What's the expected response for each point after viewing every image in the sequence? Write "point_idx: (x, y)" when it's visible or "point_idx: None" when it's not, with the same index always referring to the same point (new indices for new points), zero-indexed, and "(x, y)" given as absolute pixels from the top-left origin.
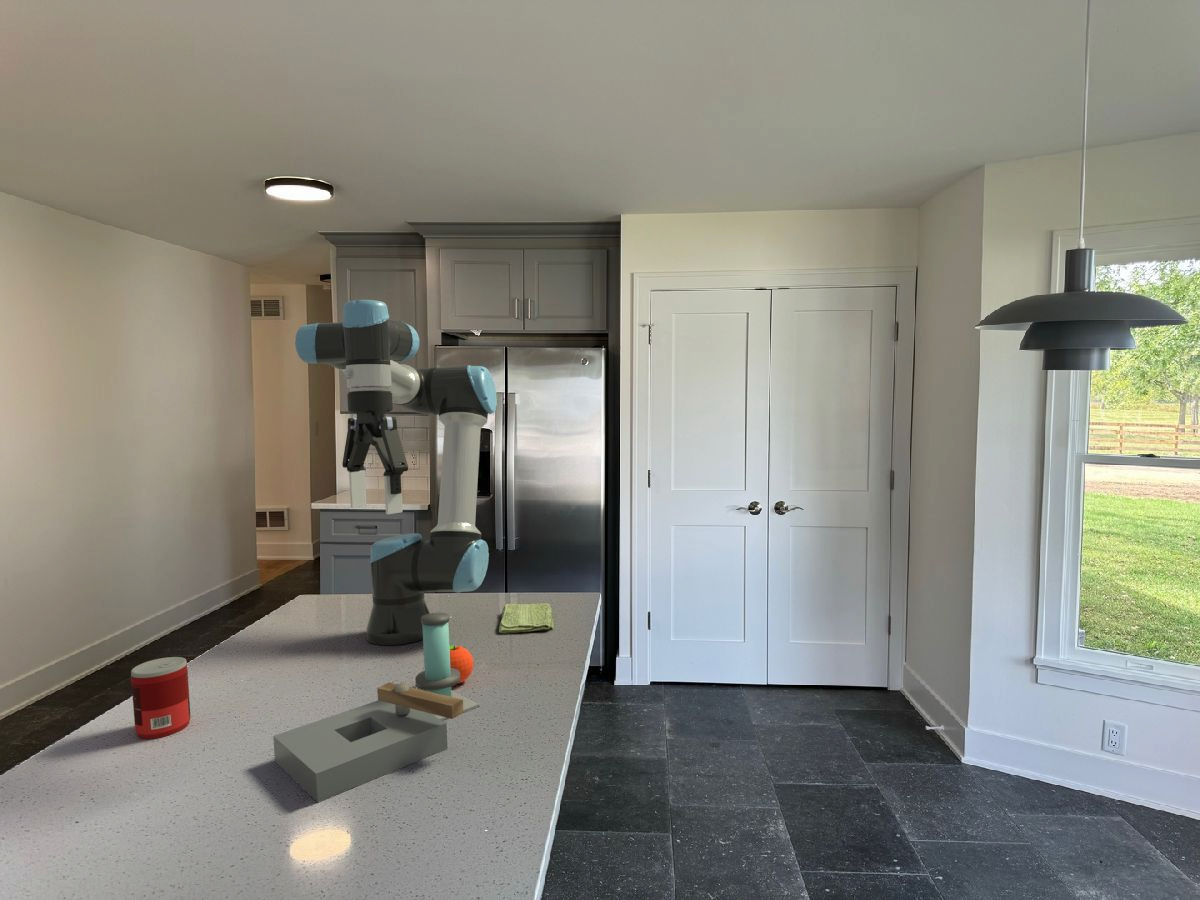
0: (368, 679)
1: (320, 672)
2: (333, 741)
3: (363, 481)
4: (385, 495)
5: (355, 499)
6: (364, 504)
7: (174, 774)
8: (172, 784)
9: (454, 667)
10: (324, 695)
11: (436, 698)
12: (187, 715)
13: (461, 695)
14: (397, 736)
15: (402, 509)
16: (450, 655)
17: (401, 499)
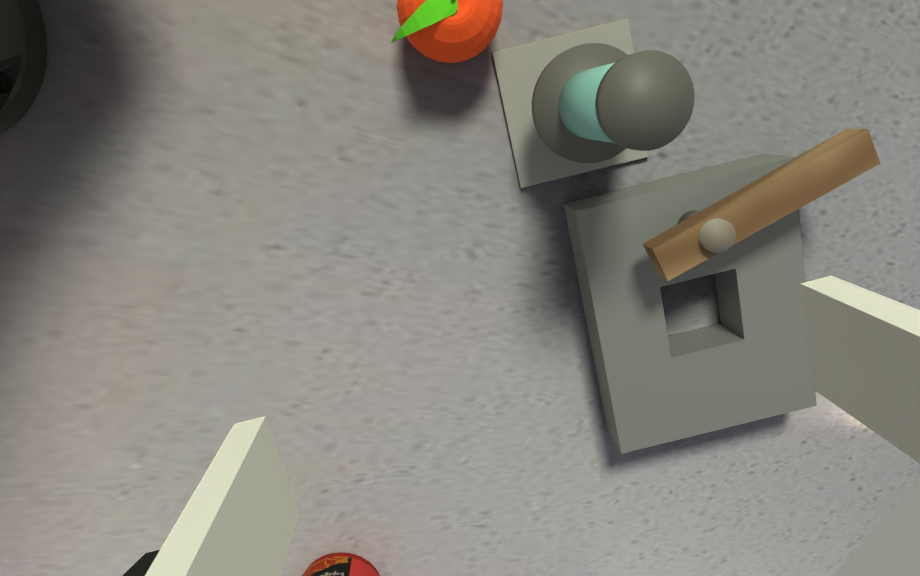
0: (295, 210)
1: (175, 305)
2: (719, 365)
3: (206, 562)
4: (913, 450)
5: (278, 529)
6: (267, 438)
7: (549, 560)
8: (583, 560)
9: (498, 25)
10: (342, 318)
11: (818, 180)
12: (355, 567)
13: (552, 37)
14: (781, 259)
15: (845, 281)
16: (479, 24)
17: (903, 308)
